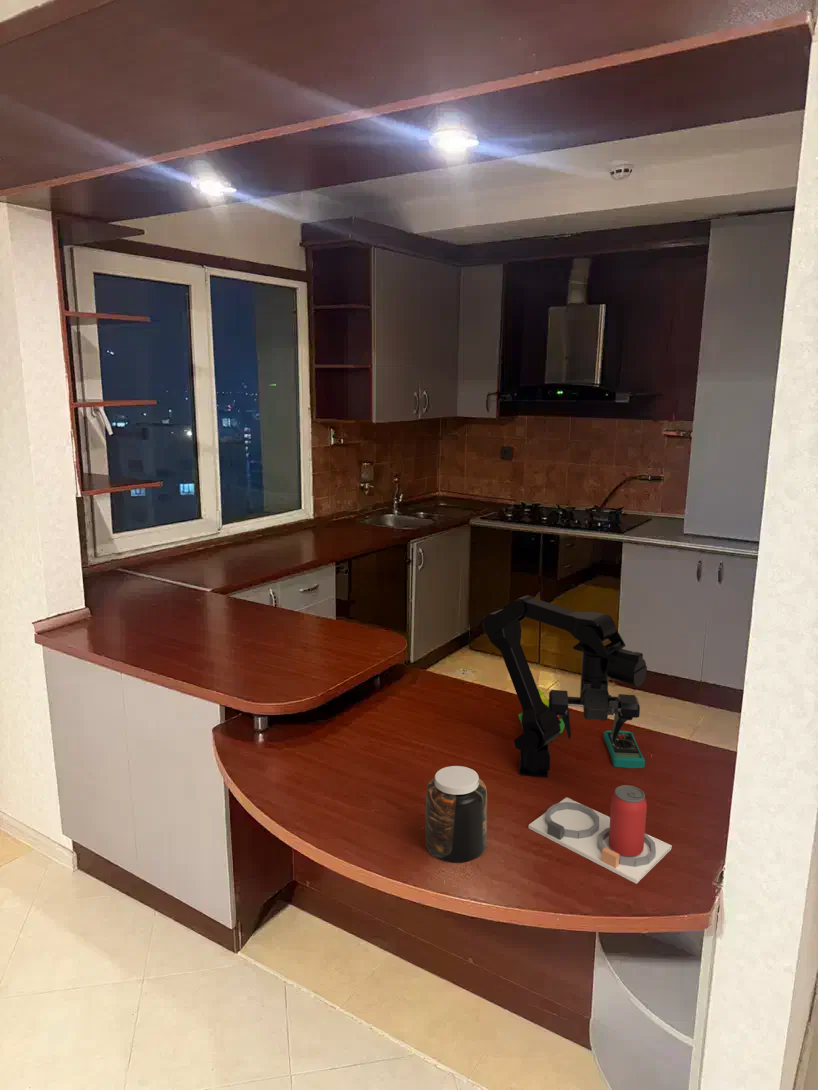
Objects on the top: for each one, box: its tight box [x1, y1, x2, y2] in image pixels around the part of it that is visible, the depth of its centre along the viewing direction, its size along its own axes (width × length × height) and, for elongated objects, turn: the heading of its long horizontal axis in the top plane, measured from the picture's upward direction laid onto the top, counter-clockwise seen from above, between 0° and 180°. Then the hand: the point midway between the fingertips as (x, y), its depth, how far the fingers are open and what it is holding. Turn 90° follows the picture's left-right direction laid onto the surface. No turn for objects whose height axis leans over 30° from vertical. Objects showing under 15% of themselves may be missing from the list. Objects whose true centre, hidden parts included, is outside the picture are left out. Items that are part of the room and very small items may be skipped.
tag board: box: [528, 797, 673, 885], centre depth 148 cm, size 24×14×3 cm, turn 45°
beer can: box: [608, 784, 648, 857], centre depth 143 cm, size 7×7×12 cm
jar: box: [425, 765, 488, 864], centre depth 145 cm, size 12×12×15 cm
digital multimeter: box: [603, 729, 646, 769], centre depth 182 cm, size 7×15×3 cm, turn 176°
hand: (591, 739), depth 162 cm, fingers open, 9 cm apart
